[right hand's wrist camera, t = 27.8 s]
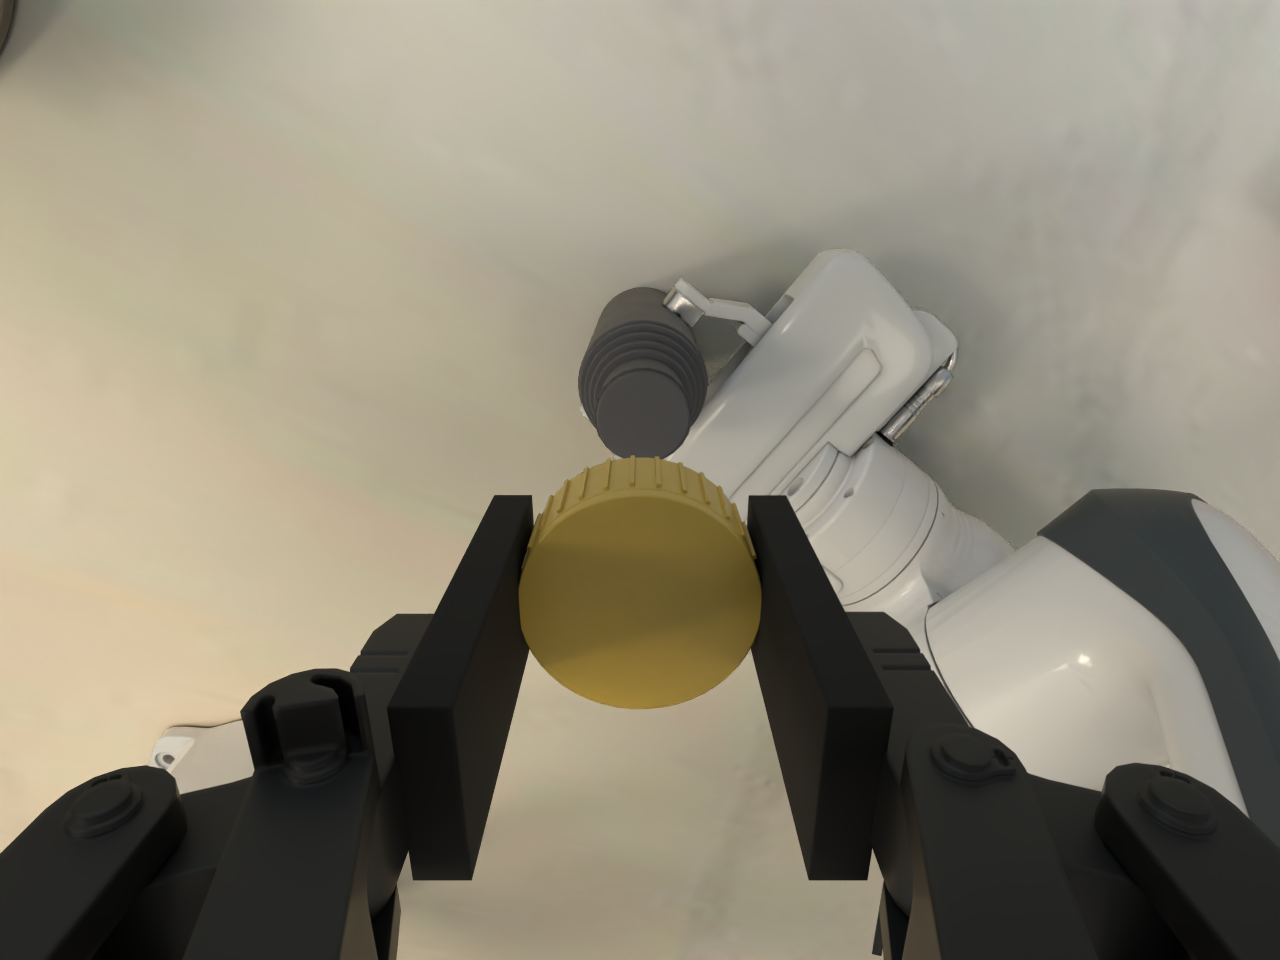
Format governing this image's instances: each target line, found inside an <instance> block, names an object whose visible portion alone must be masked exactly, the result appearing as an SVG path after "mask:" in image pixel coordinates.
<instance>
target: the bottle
mask: <svg viewBox="0 0 1280 960" xmlns="http://www.w3.org/2000/svg"><path fill="white" fill-rule="evenodd" d="M666 296H667V294H666V293H664V292H662V291H659V290H656V289H652V288H643V287H641V288H634V289H629V290H627V291H624V292H622V293H620V294H619V295H617V296H616V297H614V298H613V299H612V300H611V301H610V302H609V303H608V304H607V306H606V307H605V309H604V310H603V312H602V314H601V316H600V319H599V321H598V324H597V326H596V329H595V331H594V333H593V336H592V338H591V341H590V343H589V346H588V348H587V351H586V353H585V356H584V358H583V361H582V364H581V367H580V371H579V378H578V389H579V396H580V400H581V403H582V406H583V408H584V411H585V413H586V415H587V417H588V418H589V420H590V422H591V423H592V424H593V426H594V427H595V428H596V429H597V432H598V435H599V437H600V438H601V440H602V441H603V443H604V444H605V446H606V447H607V448H608V449H609V450H611V451H612V452H613V453H614V454H615V455H617V456H619V457H621V458H623V459H625V458H631V456H632V455H635V458H655V456H658V457H659V459H664V458H666V457H668V456H670V455H671V454H673V453H674V452H675V451H676V450H677V449H678V448H679V447H680V446H681V445H682V444H683V443H684V441H685V439H686V438H687V436H688V434H689V431H690V428H691V427H692V425H693V424H694V423H695V421H696V420H697V418H698V416H699V414H700V412H701V410H702V408H703V405H704V403H705V400H706V395H707V386H708V381H707V372H706V367H705V364H704V361H703V358H702V356H701V353H700V351H699V348H698V346H697V344H696V341H695V339H694V336H693V334H692V331H691V329H690V326H689V325H688V324H686V323H685V322H684V321H683V320H682V319H681V317H680V315H679V314H675V313H674V312H672V311H671V310H669V309H668V308H667V307H666V306H665V305H664V304H663V300H664V299H665V297H666Z"/></svg>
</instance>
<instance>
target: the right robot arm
mask: <svg viewBox="0 0 1280 960" xmlns="http://www.w3.org/2000/svg"><path fill="white" fill-rule="evenodd" d="M13 5H14V0H0V49H1V47H2V45H3V43H4V40H5V38H6V35H7V32H8V29H9V26H10V22H11V17H12V13H13ZM533 528H534V523H533V506H532V495H494V497H493V499H492V501H491V503H490V505H489V507H488V509H487V511H486V513H485V515H484V517H483V519H482V521H481V523H480V525H479V527H478V529H477V531H476V533H475V534H474V536H473V538H472V540H471V542H470V544H469V546H468V548H467V550H466V552H465V554H464V556H463V558H462V560H461V562H460V564H459V566H458V568H457V570H456V572H455V574H454V576H453V578H452V580H451V582H450V584H449V586H448V588H447V590H446V592H445V594H444V596H443V598H442V600H441V601H440V603H439V605H438V607H437V609H436V611H435V613H434V614H396V615H395V616H393V617H392V618H391V619H389V620H388V621H387V622H385V623H384V624H383V625H381V626H380V627H379V628H377V629H376V630H374V631H373V633H372V634H371V636H370V638H369V639H368V641H367V642H366V644H365V645H364V647H363V649H362V650H361V655H358V657H357V658H356V660H355V661H354V663H353V664H352V666H351V668H350V672H347V671H344V670H340V669H312V670H308V671H303V672H299V673H294V674H291V675H288V676H286V677H284V678H282V679H279V680H277V681H275V682H272V683H270V684H268V685H267V686H266V687H264V688H263V689H261V690H260V691H259V692H257V693H256V694H254V695H253V696H252V697H251V698H250V699H249V701H248V702H247V703H246V704H245V706H244V707H243V708H242V710H241V711H240V713H241V717H242V721H243V725H244V729H245V733H246V737H247V741H248V746H249V750H250V754H251V758H252V762H253V766H254V772H253V775H252V776H251V777H248V778H245V779H241V780H238V781H235V782H231V783H227V784H223V785H218V786H214V787H210V788H205V789H201V790H196V791H192V792H188V793H183V794H180V793H179V789H178V786H177V783H176V779H175V778H174V777H173V776H172V775H171V774H170V773H169V772H168V771H167V770H165V769H163V768H157V767H152V766H137V767H129V768H121V769H118V770H115V771H112V772H109V773H106V774H103V775H100V776H97V777H94V778H92V779H90V780H88V781H87V782H85V783H83V784H81V785H79V786H77V787H75V788H73V789H71V790H70V791H68V792H67V793H65V794H64V795H63V796H61V797H60V798H59V799H58V800H56V801H55V802H54V803H53V804H51V805H50V806H49V807H47V808H46V809H45V810H44V811H43V812H42V813H41V814H40V815H39V816H38V817H37V818H36V819H35V820H34V821H33V822H32V823H31V824H30V825H29V826H28V827H27V828H26V829H25V830H24V831H23V832H22V833H21V834H20V835H19V836H18V837H17V838H16V839H15V840H14V841H13V842H12V843H11V844H10V845H9V846H8V847H7V848H6V849H5V850H4V851H3V852H1V853H0V960H396V957H397V946H398V936H399V925H400V915H401V909H400V902H399V895H398V889H397V881H398V878H399V875H400V872H401V870H402V867H403V864H404V861H405V858H406V856H407V853H408V850H409V856H410V863H411V869H412V876H413V880H472V877H473V873H474V869H475V865H476V861H477V857H478V853H479V849H480V845H481V841H482V837H483V833H484V829H485V825H486V821H487V817H488V813H489V809H490V805H491V801H492V797H493V793H494V789H495V785H496V781H497V777H498V773H499V769H500V765H501V761H502V757H503V753H504V749H505V745H506V741H507V737H508V733H509V729H510V725H511V721H512V717H513V713H514V709H515V705H516V701H517V697H518V693H519V689H520V685H521V681H522V677H523V673H524V669H525V665H526V661H527V657H528V653H529V649H530V648H529V646H528V645H527V643H526V641H525V638H524V635H523V633H522V630H521V622H520V608H519V592H518V585H519V581H520V577H521V573H522V571H521V568H522V564H523V561H524V558H525V555H526V552H527V546H528V543H529V540H530V537H531V534H532V531H533ZM747 529H748V532H749V535H750V538H751V541H752V544H753V547H754V550H755V553H756V556H757V559H754V561H755V564H756V567H757V570H758V573H759V578H760V582H761V586H762V601H761V615H760V626H759V630H758V632H757V635H756V638H755V640H754V643H753V644H752V646H751V651H752V655H753V659H754V663H755V667H756V671H757V675H758V679H759V683H760V687H761V691H762V695H763V699H764V703H765V707H766V711H767V715H768V719H769V723H770V727H771V731H772V735H773V739H774V743H775V747H776V751H777V755H778V759H779V763H780V767H781V771H782V775H783V779H784V783H785V787H786V791H787V795H788V799H789V803H790V807H791V811H792V815H793V819H794V823H795V827H796V831H797V835H798V839H799V843H800V847H801V851H802V855H803V859H804V863H805V867H806V871H807V875H808V879H809V880H867V879H868V872H869V866H870V859H871V853H872V848H873V851H874V854H875V856H876V859H877V862H878V865H879V867H880V870H881V873H882V876H883V878H884V883H883V889H882V895H881V901H880V907H879V913H878V919H877V925H876V931H875V937H874V944H873V951H872V954H874V955H879V956H881V955H882V949H883V955H884V960H1280V848H1279V847H1278V846H1277V845H1276V844H1275V843H1274V842H1273V841H1272V840H1271V839H1269V838H1268V837H1267V836H1266V835H1265V834H1264V833H1263V832H1262V831H1261V830H1260V829H1259V828H1258V827H1257V826H1256V825H1255V824H1254V823H1253V822H1252V821H1251V820H1250V819H1249V818H1248V817H1247V816H1246V815H1245V814H1244V813H1243V812H1242V811H1241V810H1240V809H1239V808H1238V807H1237V806H1236V805H1234V804H1233V803H1232V802H1231V801H1229V800H1228V799H1227V798H1225V797H1224V796H1223V795H1222V794H1220V793H1219V792H1218V791H1217V790H1215V789H1214V788H1212V787H1210V786H1208V785H1206V784H1205V783H1203V782H1201V781H1199V780H1197V779H1195V778H1193V777H1191V776H1189V775H1187V774H1185V773H1181V772H1178V771H1176V770H1172V769H1169V768H1166V767H1163V766H1160V765H1152V764H1143V763H1130V764H1125V765H1119V766H1116V767H1115V768H1114V769H1113V770H1112V771H1111V772H1109V773H1108V774H1107V775H1106V778H1105V781H1104V785H1103V788H1102V791H1097V790H1093V789H1088V788H1084V787H1079V786H1075V785H1071V784H1066V783H1062V782H1058V781H1053V780H1049V779H1046V778H1042V777H1039V776H1036V775H1032V774H1030V773H1027V771H1026V769H1025V767H1024V766H1023V764H1022V763H1021V761H1020V760H1019V758H1018V757H1017V755H1016V753H1014V752H1013V751H1012V750H1011V749H1010V748H1008V747H1007V746H1006V745H1005V744H1003V743H1002V742H1001V741H1000V740H998V739H997V738H995V737H993V736H991V735H988V734H986V733H984V732H982V731H980V730H978V729H976V728H972V727H969V725H968V724H967V722H966V721H965V719H964V717H963V716H962V714H961V713H960V711H959V710H958V708H957V706H956V705H955V703H954V702H953V700H952V698H951V697H950V695H949V694H948V692H947V691H946V689H945V687H944V686H943V684H942V683H941V681H940V680H939V678H938V676H937V675H936V673H935V672H934V670H931V665H930V664H929V662H928V661H927V659H926V658H925V656H924V654H923V653H920V648H919V646H918V645H917V643H916V642H915V640H914V639H913V637H912V635H911V634H910V632H909V631H908V629H907V628H905V627H904V626H903V625H901V624H900V623H899V622H897V621H896V620H894V619H893V618H892V617H890V616H889V615H888V614H886V613H885V612H845V610H844V608H843V606H842V604H841V602H840V600H839V598H838V597H837V595H836V593H835V591H834V589H833V587H832V585H831V583H830V581H829V579H828V577H827V575H826V573H825V571H824V569H823V567H822V565H821V563H820V561H819V559H818V557H817V555H816V553H815V551H814V549H813V547H812V545H811V543H810V541H809V539H808V537H807V535H806V533H805V531H804V530H803V528H802V526H801V524H800V522H799V520H798V518H797V516H796V514H795V512H794V510H793V508H792V506H791V504H790V502H789V500H788V498H787V496H786V495H749V497H748V514H747Z"/></svg>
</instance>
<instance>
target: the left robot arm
mask: <svg viewBox="0 0 1280 960" xmlns="http://www.w3.org/2000/svg"><path fill="white" fill-rule="evenodd" d="M663 304H664V305H665V306H666V307H667V308H668V309H669V310H671V311H672V312H674V313H675V314H679V315H680V317H681V319H682V320H683V321H684V322H685V323H686V324H688V325H689V326H690V327H691V328H692V327H693V326H694V325H695V323H696V322H697V321H698V320H699V319H700V318H701V316H702V315H704V316H710V317H717V318H723V319H729V320H735V321H734V322H733V323H732V327H733V328H734V330H735V331H736V332H737V333H738V334H739V335H740V336H741V337H742V338H743V339H745V341H744V342H743V344H742V345H741V346H740V347H739V348H738V349H737V351H736V352H735V353H734V354H733V355H732V357H731V358H730V359H729V360H728V361H727V363H726V364H725V365H724V366H723V367H722V369H721V370H720V371H719V372H718V373H717V375H716V376H715V377H714V378H713V379H712V381H711V382H710V383H709V384H708V386H707V395H706V400H705V403H704V405H703V408H702V410H701V412H700V414H699V416H698V418H697V420H696V421H695V423H694V424H693V425H692V427H691V428H690V431H689V434H688V436H687V438H686V439H685V441H684V443H683V444H682V445H681V446H680V447H679V448H678V449H677V450H676V451H675V452H674V453H673V454H671V455H670V456H668V457H666V458H664V459H663V460H666V461H670V462H674V463H678V462H682V463H683V466H685V467H688V468H690V469H692V470H694V471H696V472H697V473H700V472H703V473H704V475H705V477H706V478H707V479H708V480H710V481H711V482H712V483H714V484H715V485H716V486H717V487H718V486H719V485H720V486H721V487H722V489H723V492H724V494H725V495H726V497H727V498H728V499H729V500H730V502H731V503H734V502H735V504H736V506H737V509H738V512H739V515H740V518H741V521H742V522H745V523H746V526H747V514H748V497H749V495H786V496H787V498H788V500H789V502H790V504H791V506H792V508H793V510H794V512H795V514H796V516H797V518H798V520H799V522H800V524H801V526H802V528H803V530H804V531H805V533H806V535H807V537H808V539H809V541H810V543H811V545H812V547H813V549H814V551H815V553H816V555H817V557H818V559H819V561H820V563H821V565H822V567H823V569H824V571H825V573H826V575H827V577H828V579H829V581H830V583H831V585H832V587H833V589H834V591H835V593H836V595H837V597H838V598H839V600H840V602H841V604H842V606H843V608H844V610H845V612H885V613H886V614H888V615H889V616H890V617H892V618H893V619H894V620H896V621H897V622H899V623H900V624H901V625H903V626H904V627H905V628H907V629H908V631H909V632H910V634H911V635H912V637H913V639H914V640H915V642H916V643H917V645H918V646H919V648H920V653H923V654H924V656H925V658H926V659H927V661H928V662H929V664H930V665H931V670H934V672H935V673H936V675H937V676H938V678H939V680H940V681H941V683H942V684H943V686H944V687H945V689H946V691H947V692H948V694H949V695H950V697H951V698H952V700H953V702H954V703H955V705H956V706H957V708H958V710H959V711H960V713H961V714H962V716H963V717H964V719H965V721H966V722H967V724H968V725H969V727H972V728H976V729H978V730H980V731H982V732H984V733H986V734H988V735H991V736H993V737H995V738H997V739H998V740H1000V741H1001V742H1002V743H1003V744H1005V745H1006V746H1007V747H1008V748H1010V749H1011V750H1012V751H1013V752H1014V753H1016V755H1017V757H1018V758H1019V760H1020V761H1021V763H1022V764H1023V766H1024V767H1025V769H1026V771H1027V773H1030V774H1032V775H1036V776H1039V777H1042V778H1046V779H1049V780H1053V781H1058V782H1062V783H1066V784H1071V785H1075V786H1079V787H1084V788H1088V789H1093V790H1097V791H1102V788H1103V785H1104V781H1105V778H1106V775H1107V774H1108V773H1109V772H1111V771H1112V770H1113V769H1114V768H1115V767H1116V766H1119V765H1125V764H1130V763H1143V764H1152V765H1160V766H1165V765H1168V764H1170V768H1171V769H1172V770H1176V771H1178V772H1181V773H1185V774H1187V775H1189V776H1191V777H1193V778H1195V779H1197V780H1199V781H1201V782H1203V783H1205V784H1206V785H1208V786H1210V787H1212V788H1214V789H1215V790H1217V791H1218V792H1219V793H1220V794H1222V795H1223V796H1224V797H1225V798H1227V799H1228V800H1229V801H1231V802H1232V803H1233V804H1234V805H1236V806H1237V807H1238V808H1239V809H1240V810H1241V811H1242V812H1243V813H1244V814H1245V815H1246V816H1247V817H1248V818H1249V819H1250V820H1251V821H1252V822H1253V823H1254V824H1255V825H1256V826H1257V827H1258V828H1259V829H1260V830H1261V831H1262V832H1263V833H1264V834H1265V835H1266V836H1267V837H1268V838H1269V839H1271V840H1272V841H1273V842H1274V843H1275V844H1276V845H1277V846H1278V847H1279V848H1280V563H1279V561H1278V560H1277V559H1276V558H1275V557H1274V556H1273V554H1272V553H1271V552H1270V551H1269V550H1268V549H1267V548H1266V547H1265V546H1264V545H1263V544H1262V543H1261V542H1260V541H1259V540H1258V539H1257V538H1256V537H1255V536H1254V535H1252V534H1251V533H1250V532H1249V531H1248V530H1247V529H1245V528H1244V527H1243V526H1242V525H1240V524H1239V523H1238V522H1236V521H1235V520H1234V519H1232V518H1231V517H1230V516H1228V515H1227V514H1225V513H1223V512H1222V511H1220V510H1218V509H1217V508H1215V507H1213V506H1211V505H1209V504H1207V503H1206V502H1205V501H1203V500H1202V499H1201V498H1199V497H1198V496H1196V495H1194V494H1191V493H1184V492H1177V491H1168V490H1157V489H1096V490H1091V491H1090V492H1088V493H1087V494H1086V495H1085V496H1083V497H1082V498H1081V499H1080V500H1078V501H1077V502H1076V503H1074V504H1073V505H1072V506H1071V507H1069V508H1068V509H1067V510H1066V511H1064V512H1063V513H1062V514H1061V515H1059V516H1058V517H1057V518H1055V519H1054V520H1053V521H1052V522H1050V523H1049V524H1048V525H1047V526H1045V527H1044V528H1043V529H1041V530H1040V531H1039V532H1038V533H1037V535H1038V536H1037V537H1036V538H1034V539H1033V540H1031V541H1030V542H1028V543H1027V544H1025V545H1024V546H1022V547H1021V548H1019V549H1018V550H1016V549H1014V548H1013V547H1012V546H1011V545H1010V544H1009V543H1008V542H1007V541H1006V540H1005V539H1003V538H1002V537H1001V536H1000V535H999V534H998V533H996V532H995V531H994V530H993V529H992V528H991V527H989V526H988V525H987V524H985V523H984V522H983V521H981V520H979V519H978V518H976V517H974V516H971V515H969V514H966V513H963V512H961V511H959V510H958V509H956V508H955V507H953V506H952V505H951V503H950V502H949V501H948V500H947V498H946V496H945V494H944V493H943V491H942V490H941V488H940V487H939V486H938V484H937V483H936V482H935V481H934V480H933V479H932V478H930V477H929V476H928V475H927V474H926V473H924V472H923V471H922V470H921V469H920V468H919V467H917V466H916V465H915V464H914V463H913V462H911V461H910V460H909V459H908V458H907V457H905V456H904V455H903V454H902V453H900V452H899V451H898V450H897V449H896V448H894V447H893V446H894V445H892V444H893V443H894V442H895V441H896V440H897V439H898V438H899V437H900V436H901V435H902V434H903V433H904V432H905V431H906V430H907V428H908V427H909V426H910V425H911V424H912V423H913V422H914V421H915V420H916V419H917V416H919V415H920V412H922V411H923V409H924V407H926V406H927V405H928V403H930V402H931V401H932V400H933V399H934V398H935V397H937V396H939V395H940V394H941V393H942V392H943V391H944V390H945V389H946V388H947V386H948V385H949V384H950V382H951V381H952V379H953V375H952V374H951V373H950V372H951V371H952V369H953V368H954V365H955V363H956V361H957V357H958V342H957V339H956V337H955V335H954V333H953V332H952V330H951V329H950V328H948V327H947V326H946V325H945V324H944V323H943V322H942V321H941V320H940V319H939V318H937V317H936V316H935V315H934V314H933V313H932V312H930V311H928V310H926V309H924V308H919V307H910V306H909V305H908V304H907V303H906V301H905V300H904V299H903V298H902V296H901V295H900V294H899V293H898V292H897V290H896V289H895V288H894V287H893V286H892V285H891V283H890V282H889V281H888V280H887V279H886V278H885V277H884V276H883V275H882V274H881V273H880V272H879V271H878V270H877V268H876V267H875V266H874V265H873V264H872V263H871V262H869V261H868V260H867V259H866V258H865V257H864V256H863V255H861V254H860V253H858V252H856V251H853V250H850V249H831V250H824V251H821V252H820V253H818V254H817V255H816V256H815V258H814V259H813V260H812V261H811V262H810V263H809V265H808V266H807V267H806V268H805V269H804V271H803V272H802V273H801V274H800V275H799V277H798V278H797V279H796V280H795V281H794V283H793V284H792V285H791V286H790V287H789V289H788V290H787V291H786V292H785V293H784V295H783V296H782V297H781V298H780V299H779V300H778V302H777V303H776V304H775V305H774V306H773V308H772V309H771V310H770V311H769V312H768V314H767V315H766V316H765V317H764V316H763V315H762V314H760V313H759V312H758V311H757V310H756V309H754V308H753V307H752V306H751V305H750V304H748V303H743V302H736V301H730V300H723V299H716V298H709V300H708V299H707V298H706V297H705V296H703V295H702V294H701V293H700V292H699V291H697V290H696V289H695V288H694V287H693V286H691V285H690V284H689V283H688V282H687V281H685V280H684V279H682V278H680V279H679V280H678V282H677V283H676V284H675V286H674V287H673V288H672V289H671V291H670V292H669V293H668V295H667V296H666V297H665V299H664V300H663ZM947 358H948V360H947ZM946 360H947V363H946V365H945V366H944V367H943V366H941V365H942V364H943V363H944V362H945V361H946ZM579 411H580V412H581V414H582V415H583V416H584V417H585V418H587V419H588V420H589V418H588V417H587V415H586V413H585V411H584V408H583V406H582V405H581V407H580V410H579ZM589 421H590V420H589ZM876 430H877V431H878V432H877V431H876ZM875 431H876V432H875ZM613 454H614V453H613ZM614 457H615V459H616V460H618V459H623V458H621V457H619V456H617V455H615V454H614ZM148 766H152V767H157V768H163V769H165V770H167V771H168V772H169V773H170V774H171V775H172V776H173V777H174V778H175V779H176V783H177V786H178V789H179V793H180V794H183V793H188V792H192V791H196V790H201V789H205V788H210V787H214V786H218V785H223V784H227V783H231V782H235V781H238V780H241V779H245V778H248V777H251V776H252V775H253V772H254V766H253V762H252V758H251V754H250V750H249V746H248V741H247V737H246V733H245V729H244V725H243V721H242V720H240V721H235V722H231V723H228V724H224V725H221V726H217V727H212V728H197V727H171V728H168V729H166V730H165V731H164V732H163V733H162V735H161V736H160V738H159V739H158V740H157V742H156V744H155V747H154V750H153V753H152V756H151V759H150V762H149V765H148Z"/></svg>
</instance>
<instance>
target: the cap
mask: <svg viewBox="0 0 1280 960" xmlns="http://www.w3.org/2000/svg"><path fill="white" fill-rule="evenodd" d="M754 559H757V556H756V553H755V550H754V547H753V544H752V541H751V538H750V535H749V532H748V529H747V526H746V523H745V522H742V521H741V518H740V515H739V512H738V509H737V506H736V504H735V502H734V503H731V502H730V500H729V499H728V498H727V497H726V495H725V494H724V492H723V489H722V487H721V486H720V485H719V486H718V487H717V486H716V485H715V484H714V483H712V482H711V481H710V480H708V479H707V478H706V477H705V475H704V473H703V472H700V473H697V472H696V471H694V470H692V469H690V468H688V467H685V466H683V463H682V462H678V463H674V462H670V461H666V460H663V459H659V457H658V456H655V458H635V455H632V456H631V458H625V459H618V460H614V461H611V459H608V460H607V461H606V463H602V464H600V465H597V466H595V467H592V468H590V469H589V468H588V467H587V468H585V469H584V472H582V473H581V474H579V475H577V476H576V477H574V478H573V479H572V480H570V481H569V480H568V479H567V480H566V481H565V482H564V486H563V487H562V488H561V489H560V490H559V491H558V492H557V493H556V494H555V495H554V496H552V495H551V496H550V497H549V499H548V502H547V505H546V508H545V510H544V511H543V513H542V514H540V513H539V514H538V516H537V519H536V522H535V525H534V528H533V531H532V534H531V537H530V540H529V543H528V546H527V552H526V555H525V558H524V561H523V564H522V568H521V571H522V573H521V577H520V581H519V585H518V592H519V608H520V622H521V630H522V633H523V635H524V638H525V641H526V643H527V645H528V646H529V648H530V650H531V652H532V654H533V655H534V657H535V658H536V659H537V661H538V662H539V663H540V665H541V666H542V667H543V668H544V669H545V670H546V671H547V672H548V673H549V674H550V675H551V676H552V677H553V678H554V679H555V680H557V681H558V682H559V683H560V684H562V685H563V686H565V687H566V688H568V689H569V690H571V691H573V692H574V693H576V694H578V695H580V696H582V697H585V698H587V699H589V700H592V701H595V702H598V703H601V704H604V705H609V706H613V707H619V708H628V709H652V708H662V707H667V706H671V705H676V704H679V703H682V702H685V701H688V700H691V699H693V698H695V697H697V696H700V695H702V694H704V693H706V692H707V691H709V690H711V689H712V688H714V687H715V686H717V685H718V684H719V683H721V682H722V681H723V680H724V679H726V678H727V677H728V676H729V675H730V674H731V673H732V672H733V671H734V670H735V669H736V668H737V667H738V666H739V664H740V663H741V662H742V660H743V659H744V658H745V656H746V655H747V653H748V652H749V650H750V648H751V646H752V644H753V643H754V640H755V638H756V635H757V632H758V630H759V626H760V615H761V601H762V586H761V582H760V578H759V573H758V570H757V567H756V564H755V561H754Z"/></svg>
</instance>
